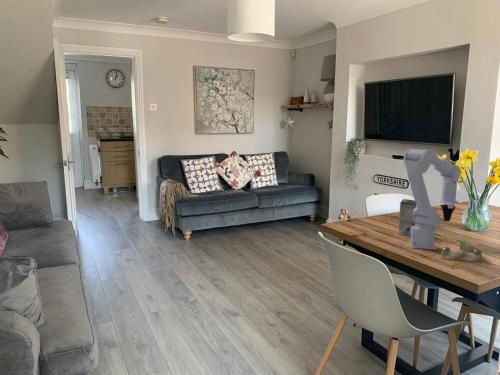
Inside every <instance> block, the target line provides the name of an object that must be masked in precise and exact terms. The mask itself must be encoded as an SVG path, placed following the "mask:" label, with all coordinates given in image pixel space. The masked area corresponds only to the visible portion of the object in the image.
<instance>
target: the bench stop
mask: <svg viewBox="0 0 500 375" xmlns="http://www.w3.org/2000/svg"><path fill="white" fill-rule="evenodd" d="M482 254H483V253H481V255H475V254H474V253H467V252H463V251H452V250H450V252H449V253H446V252H443V249H442V250H441V258H442V259H444V260H445V259H446V260H458V261H466V262H467V261H469V262H480V263H482V262H483V255H482Z"/></svg>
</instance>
